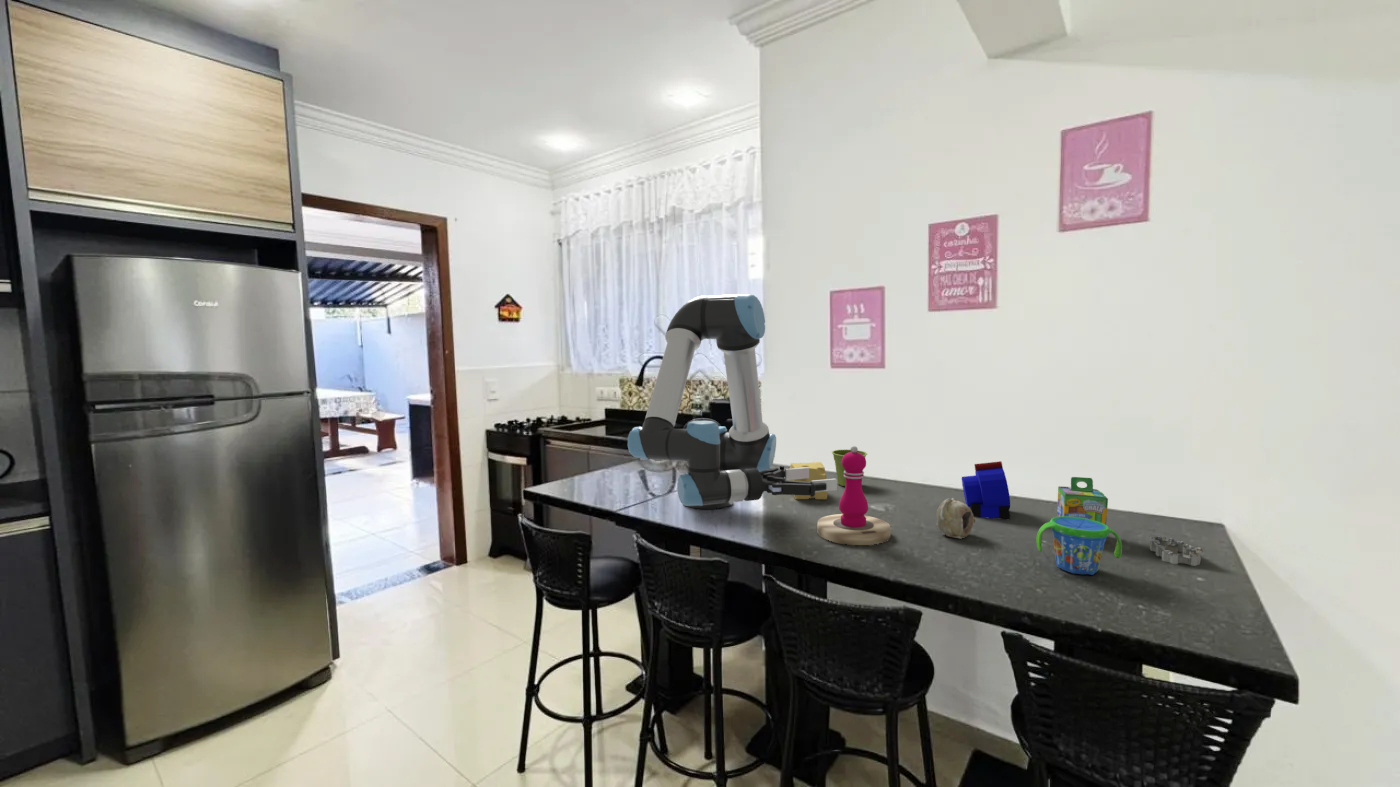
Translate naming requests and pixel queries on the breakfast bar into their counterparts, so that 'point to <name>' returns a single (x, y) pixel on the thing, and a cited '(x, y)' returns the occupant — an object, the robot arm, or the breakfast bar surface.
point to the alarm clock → (987, 491)
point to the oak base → (853, 531)
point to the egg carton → (1175, 551)
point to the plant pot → (838, 463)
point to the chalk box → (1082, 501)
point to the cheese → (811, 478)
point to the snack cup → (1078, 543)
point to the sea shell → (955, 518)
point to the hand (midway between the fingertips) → (821, 478)
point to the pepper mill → (853, 490)
